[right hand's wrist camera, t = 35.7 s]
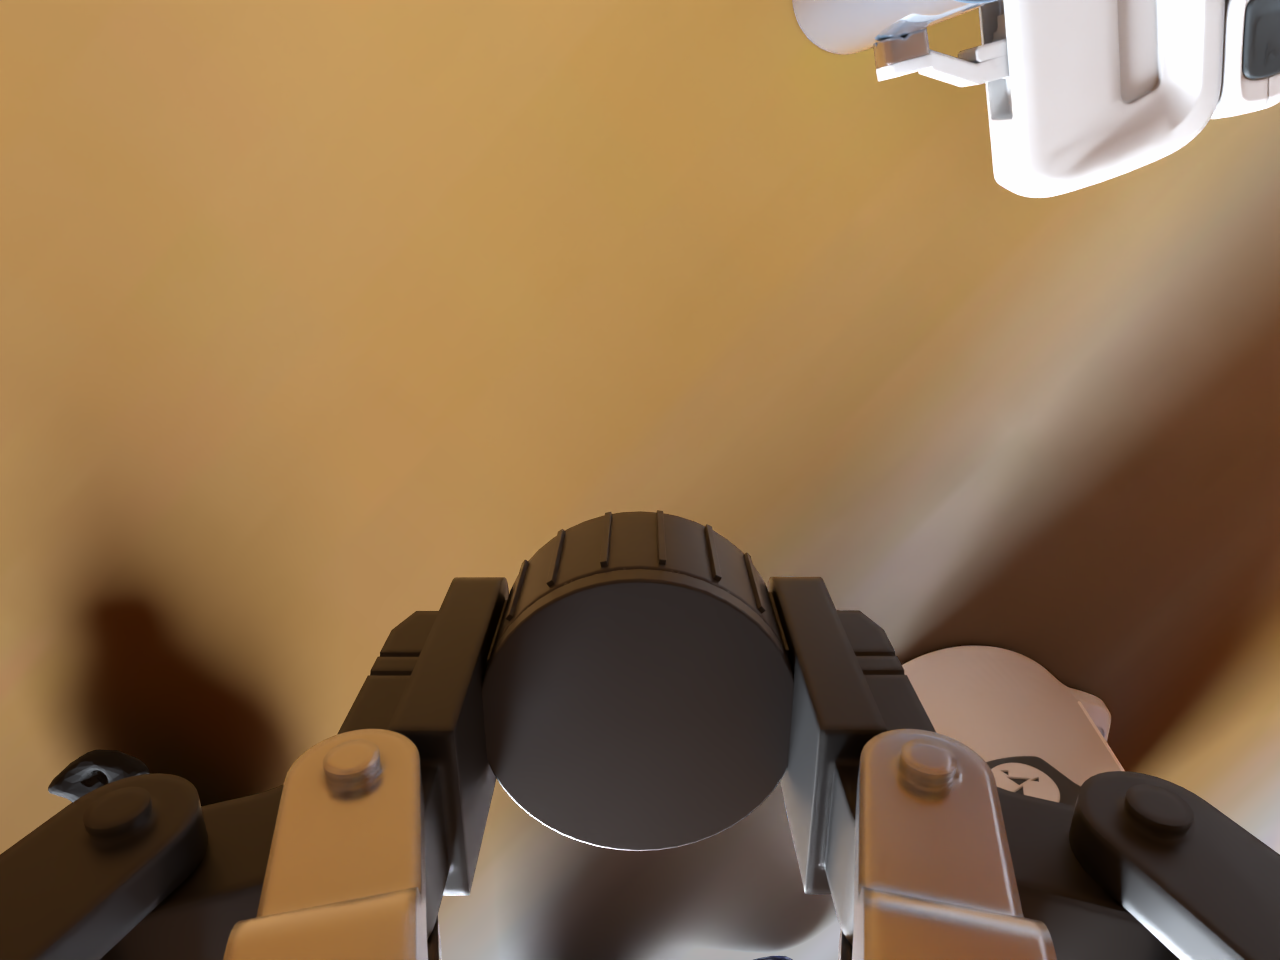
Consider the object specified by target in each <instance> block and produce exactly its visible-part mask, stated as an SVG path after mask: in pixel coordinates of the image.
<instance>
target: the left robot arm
mask: <svg viewBox="0 0 1280 960" xmlns="http://www.w3.org/2000/svg"><path fill="white" fill-rule="evenodd" d="M979 18H980V29H981V40H982V45H980V46H977V47H973V48H970V49H967V50H963V51H960V52H959V54H958V58H956V57H953V56H949V55H946V54H943V53H939V52H936V51H933V50H929V43H928V35H927V28H925V29H921V30H918V31H915V32H912V33H910V34H907V35H904V36H902V37H900V36H897V37H892V38H889V39H885V40H882V41H879V42H877V43H874V44H873V46H874V54H875V62H876V68H877V69H876V73H877V78H878V81H882V80H886V79H890V78H895V77H899V76H902V75H906V74H909V73H913V72H917V71H918V72H919V74H922V75H925V76H928V77H931V78H934V79H937V80H940V81H943V82H946V83H949V84H952V85H955V86H958V87H966V86H973V85H979V84H983V83H986V94H987V105H988V116H989V127H990V138H991V149H992V160H993V172H994V178H995V180H996V182H997V183H998V184H999V185H1001V186H1002V187H1004V188H1006V189H1008V190H1009V191H1011V192H1013V193H1015V194H1018V195H1021V196H1025V197H1032V198H1044V197H1051V196H1056V195H1060V194H1064V193H1068V192H1072V191H1075V190H1078V189H1081V188H1085V187H1088V186H1091V185H1094V184H1097V183H1100V182H1103V181H1106V180H1109V179H1111V178H1114V177H1117V176H1120V175H1122V174H1125V173H1128V172H1130V171H1133V170H1135V169H1138V168H1140V167H1142V166H1145V165H1147V164H1150V163H1152V162H1154V161H1157V160H1159V159H1161V158H1163V157H1165V156H1168V155H1170V154H1172V153H1173V152H1175V151H1177V150H1179V149H1180V148H1182V147H1183V146H1185V145H1186V144H1187V143H1189V142H1190V141H1191V140H1193V139H1194V138H1195V137H1196V136H1197V135H1198V134H1199V133H1200V132H1201V131H1202V130H1203V128H1204V127H1205V126H1206V125H1207V123H1208V122H1209V120H1210V119H1218V118H1225V117H1232V116H1238V115H1242V114H1246V113H1251V112H1255V111H1259V110H1262V109H1266V108H1268V107H1271V106H1273V105H1275V104H1277V103H1278V102H1280V0H999V1H996V2H993V3H991V4H988V5H985V6H983V7H980V8H979ZM880 67H881V68H880ZM902 667H903V669H904V674H905V675H907V676H908V678H909V680H910V682H911V684H912V686H913V688H914V690H915V692H916V694H917V696H918V698H919V700H920V702H921V704H922V706H923V708H924V709H925V711H926V713H927V715H928V717H929V719H930V721H931V723H932V725H933V727H934V729H935V731H936V733H939V734H942V735H945V736H948V737H950V738H952V739H955V740H957V741H959V742H961V743H963V744H964V745H966V746H968V747H969V748H971V749H972V750H973V751H975V752H976V753H977V754H978V755H979V756H980V757H982V758H983V760H984V761H985V762H986V763H987V764H988V766H989V767H990V769H991V771H992V772H993V775H994V778H995V781H996V786H997V787H1000V788H1002V789H1005V790H1008V791H1011V792H1015V793H1019V794H1023V795H1027V796H1032V797H1036V798H1041V799H1045V800H1050V801H1054V802H1059V803H1063V804H1068V805H1072V806H1076V801H1077V797H1078V793H1079V790H1080V787H1081V786H1082V784H1083V783H1084V782H1085V781H1086V780H1087V779H1089V778H1090V777H1092V776H1094V775H1097V774H1099V773H1104V772H1111V771H1125V770H1124V769H1123V767H1122V766H1121V764H1120V762H1119V761H1118V759H1117V758H1116V756H1115V754H1114V753H1113V751H1112V750H1111V748H1110V747H1109V745H1108V744H1107V739H1108V734H1109V729H1110V724H1111V715H1110V712H1109V710H1108V709H1107V707H1106V705H1105V704H1104V702H1103V701H1102V700H1101V699H1099V698H1098V697H1096V696H1094V695H1091V694H1089V693H1086V692H1083V691H1080V690H1076V689H1073V688H1069V687H1067V686H1065V685H1064V684H1062V683H1061V682H1060V681H1058V680H1057V679H1056V678H1055V677H1054V676H1053V675H1052V674H1051V673H1050V672H1048V671H1047V670H1046V669H1045V668H1044V667H1042V666H1041V665H1040V664H1038V663H1037V662H1035V661H1034V660H1032V659H1030V658H1028V657H1026V656H1024V655H1022V654H1019V653H1016V652H1014V651H1010V650H1007V649H1003V648H997V647H991V646H959V647H951V648H946V649H942V650H937V651H934V652H931V653H927V654H925V655H922V656H919V657H917V658H915V659H912V660H910V661H909V662H907V663H905V664H903V665H902Z"/></svg>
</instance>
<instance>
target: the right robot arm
mask: <svg viewBox="0 0 1280 960" xmlns="http://www.w3.org/2000/svg"><path fill="white" fill-rule="evenodd" d="M767 589H768V591H769V592H770V591H771V593H772V596H773V599H774V603H775V606H776V609H777V612H778V616H779V619H780V622H781V625H782V629H783V632H784V635H785V638H786V642H787V645H788V648H789V655H788V657H789V661H790V664H791V667H792V670H793V674H794V688H793V702H792V715H791V728H790V742H789V755H788V767H787V770H786V772H785V774H784V776H783V778H782V779H781V780H780V784H781V788H782V793H783V797H784V802H785V806H786V811H787V815H788V820H789V824H790V829H791V833H792V837H793V842H794V846H795V851H796V855H797V860H798V864H799V869H800V873H801V878H802V882H803V887H804V891H805V894H831V895H832V898H833V902H834V906H835V910H836V914H837V918H838V921H839V924H840V927H841V931H840V940H839V954H838V960H1280V855H1279V854H1278V853H1277V852H1275V851H1274V850H1272V849H1271V848H1270V847H1268V846H1267V845H1266V844H1264V843H1263V842H1261V841H1260V840H1259V839H1257V838H1256V837H1254V836H1253V835H1252V834H1250V833H1249V832H1248V831H1246V830H1245V829H1243V828H1242V827H1241V826H1239V825H1238V824H1237V823H1235V822H1234V821H1232V820H1231V819H1230V818H1228V817H1227V816H1226V815H1224V814H1223V813H1221V812H1220V811H1219V810H1217V809H1216V808H1215V807H1213V806H1212V805H1210V804H1209V803H1208V802H1206V801H1205V800H1203V799H1202V798H1200V797H1199V796H1197V795H1196V794H1194V793H1192V792H1190V791H1188V790H1186V789H1185V788H1183V787H1181V786H1178V785H1176V784H1174V783H1171V782H1169V781H1166V780H1163V779H1160V778H1158V777H1154V776H1150V775H1146V774H1142V773H1136V772H1127V771H1111V772H1104V773H1099V774H1097V775H1094V776H1092V777H1090V778H1089V779H1087V780H1086V781H1085V782H1084V783H1083V784H1082V786H1081V787H1080V790H1079V793H1078V797H1077V801H1076V806H1072V805H1068V804H1063V803H1059V802H1054V801H1050V800H1045V799H1041V798H1036V797H1032V796H1027V795H1023V794H1019V793H1015V792H1011V791H1008V790H1005V789H1002V788H1000V787H997V786H996V781H995V778H994V775H993V772H992V771H991V769H990V767H989V766H988V764H987V763H986V762H985V761H984V760H983V758H982V757H980V756H979V755H978V754H977V753H976V752H975V751H973V750H972V749H971V748H969V747H968V746H966V745H964V744H963V743H961V742H959V741H957V740H955V739H952V738H950V737H948V736H945V735H942V734H939V733H936V731H935V729H934V727H933V725H932V723H931V721H930V719H929V717H928V715H927V713H926V711H925V709H924V708H923V706H922V704H921V702H920V700H919V698H918V696H917V694H916V692H915V690H914V688H913V686H912V684H911V682H910V680H909V678H908V676H907V675H905V674H904V669H903V667H902V665H901V663H900V661H899V659H898V657H897V656H895V651H894V649H893V647H892V645H891V643H890V641H889V639H888V637H887V635H886V633H885V631H884V630H883V629H882V628H881V627H880V626H878V625H877V624H876V623H874V622H873V621H872V620H871V619H869V618H868V617H867V616H865V615H864V614H863V613H862V612H860V611H836V609H835V607H834V604H833V602H832V600H831V597H830V595H829V593H828V590H827V588H826V586H825V583H824V581H823V579H822V578H821V577H770V579H769V582H768V588H767ZM508 597H509V590H508V584H507V580H506V578H454V579H453V581H452V583H451V585H450V587H449V590H448V592H447V594H446V596H445V599H444V601H443V603H442V605H441V608H440V610H439V611H416V612H415V613H413V614H412V615H411V616H409V617H408V618H407V619H406V620H404V621H403V622H402V623H400V624H399V625H398V626H397V627H395V628H394V629H393V630H392V631H391V633H390V635H389V636H388V638H387V640H386V642H385V644H384V646H383V648H382V650H381V652H380V657H377V659H376V661H375V663H374V665H373V667H372V669H371V674H370V676H368V677H367V679H366V680H365V682H364V684H363V686H362V688H361V690H360V692H359V694H358V696H357V698H356V700H355V702H354V703H353V705H352V707H351V709H350V711H349V713H348V715H347V717H346V719H345V721H344V723H343V724H342V726H341V728H340V730H339V732H338V734H337V735H335V736H332V737H330V738H328V739H325V740H323V741H321V742H319V743H317V744H316V745H314V746H312V747H311V748H309V749H308V750H307V751H305V752H304V753H303V754H302V755H301V756H300V757H298V758H297V760H296V761H295V762H294V763H293V764H292V766H291V767H290V769H289V771H288V772H287V775H286V778H285V781H284V785H281V786H279V787H277V788H274V789H271V790H268V791H266V792H262V793H258V794H255V795H251V796H246V797H242V798H237V799H233V800H228V801H224V802H219V803H215V804H210V805H206V806H201V804H200V800H199V795H198V792H197V789H196V788H195V787H194V785H193V784H192V783H191V782H189V781H188V780H187V779H185V778H182V777H180V776H176V775H171V774H161V773H155V774H143V775H137V776H132V777H128V778H124V779H120V780H117V781H115V782H112V783H109V784H106V785H104V786H102V787H99V788H97V789H95V790H93V791H91V792H89V793H87V794H85V795H84V796H82V797H80V798H79V799H77V800H76V801H74V802H73V803H71V804H70V805H68V806H67V807H65V808H64V809H63V810H61V811H60V812H59V813H57V814H56V815H54V816H53V817H52V818H50V819H49V820H48V821H46V822H45V823H43V824H42V825H41V826H39V827H38V828H37V829H35V830H34V831H32V832H31V833H30V834H28V835H27V836H25V837H24V838H23V839H21V840H20V841H19V842H17V843H16V844H14V845H13V846H12V847H10V848H9V849H8V850H6V851H5V852H3V853H2V854H1V855H0V960H442V953H441V939H440V931H439V922H438V911H439V908H440V904H441V900H442V896H443V895H470V890H471V886H472V882H473V877H474V873H475V869H476V864H477V860H478V856H479V851H480V847H481V843H482V838H483V834H484V829H485V825H486V821H487V816H488V812H489V808H490V803H491V799H492V795H493V790H494V786H495V782H496V777H495V775H494V774H493V772H492V769H491V767H490V765H489V763H488V761H487V751H486V738H485V724H484V711H483V698H482V680H483V677H484V674H485V671H486V668H487V664H488V663H487V658H488V655H489V652H490V648H491V645H492V642H493V639H494V635H495V632H496V629H497V626H498V622H499V619H500V616H501V613H502V609H503V606H504V603H505V600H508Z"/></svg>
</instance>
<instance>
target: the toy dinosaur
mask: <svg viewBox="0 0 1280 960" xmlns="http://www.w3.org/2000/svg"><path fill="white" fill-rule="evenodd" d="M754 960H792V959H791V958H789V957H786V956H769V957H763V958H758V959H754Z"/></svg>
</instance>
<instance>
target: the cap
mask: <svg viewBox="0 0 1280 960" xmlns="http://www.w3.org/2000/svg"><path fill="white" fill-rule="evenodd" d="M788 655H789V648H788V645H787V642H786V638H785V635H784V632H783V629H782V625H781V622H780V619H779V616H778V612H777V609H776V606H775V603H774V599H773V596H772V593H771V591H770V592H769V591H768V589H767V587H766V585H765V583H764V581H763V579H762V577H761V576H760V574H759V573H758V571H757V570H756V568H755V567H754V565H753V563H752V560H751V556H750V555H749V554H748V553H746V554H743V553H742V552H741V551H740V550H739V549H738V548H737V547H736V546H734V545H733V544H732V543H731V542H730V541H729V540H727V539H726V538H724V537H723V536H721V535H719V534H718V533H716V532H715V531H713V530H712V527H711V526H709V525H706V526H703V525H701V524H699V523H696V522H694V521H691V520H687V519H684V518H681V517H678V516H674V515H669V514H663V511H658V510H657V513H654V512H623V513H616V514H611V512H608V513H605V516H601V517H598V518H594V519H591V520H588V521H585V522H583V523H580V524H578V525H576V526H574V527H571V528H569V529H567V530H566V531H564V530H563V529H562V530H560V531H558V534H557V536H556V537H554V538H553V539H552V540H550V541H549V542H548V543H547V544H545V545H544V546H543V547H542V548H541V549H539V550H538V551H537V553H536V554H535V555H534V556H533V557H532V558H531V559H530V560H529V561H527V560H524V562H523V563H522V565H521V569H520V572H519V575H518V577H517V579H516V581H515V583H514V585H513V587H512V589H511V591H510V594H509V597H508V600H505V603H504V606H503V609H502V613H501V616H500V619H499V622H498V626H497V629H496V632H495V635H494V639H493V642H492V645H491V648H490V652H489V655H488V658H487V663H488V664H487V668H486V671H485V674H484V677H483V680H482V698H483V711H484V724H485V738H486V751H487V761H488V763H489V765H490V767H491V769H492V772H493V774H494V775H495V777H496V778H497V780H498V781H499V783H500V784H501V786H502V787H503V789H504V790H505V791H506V792H507V793H508V794H509V796H510V797H511V798H512V799H513V800H514V801H515V802H516V803H517V804H518V805H519V806H520V807H521V808H522V809H524V810H525V811H526V812H527V813H528V814H529V815H531V816H532V817H534V818H535V819H536V820H538V821H539V822H541V823H542V824H544V825H545V826H547V827H549V828H551V829H553V830H555V831H557V832H559V833H560V834H562V835H565V836H568V837H570V838H573V839H575V840H578V841H580V842H584V843H588V844H591V845H595V846H599V847H605V848H611V849H617V850H632V851H646V850H661V849H668V848H675V847H680V846H683V845H687V844H691V843H695V842H698V841H701V840H703V839H706V838H709V837H711V836H714V835H716V834H718V833H720V832H722V831H724V830H726V829H728V828H730V827H732V826H733V825H735V824H736V823H738V822H739V821H741V820H742V819H744V818H745V817H747V816H748V815H749V814H750V813H751V812H753V811H754V810H755V809H756V808H757V807H759V806H760V805H761V804H762V803H763V802H764V801H765V799H766V798H767V797H768V796H769V795H770V794H771V793H772V792H773V791H774V789H775V788H776V786H777V785H778V783H779V782H780V780H781V779H782V778H783V776H784V774H785V772H786V770H787V767H788V755H789V742H790V728H791V715H792V702H793V688H794V674H793V670H792V667H791V664H790V661H789V657H788Z"/></svg>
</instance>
